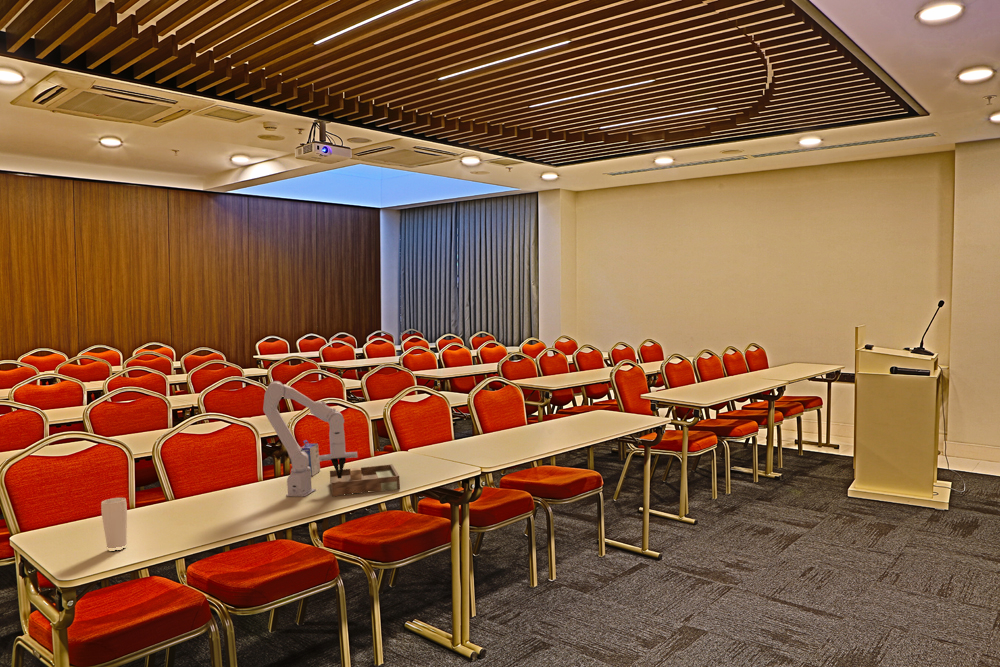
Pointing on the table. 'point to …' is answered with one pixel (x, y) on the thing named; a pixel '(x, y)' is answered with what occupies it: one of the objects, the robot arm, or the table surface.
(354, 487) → the box
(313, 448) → the ink cartridge box
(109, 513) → the drinking glass
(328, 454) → the robot arm
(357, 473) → the block
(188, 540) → the table surface
